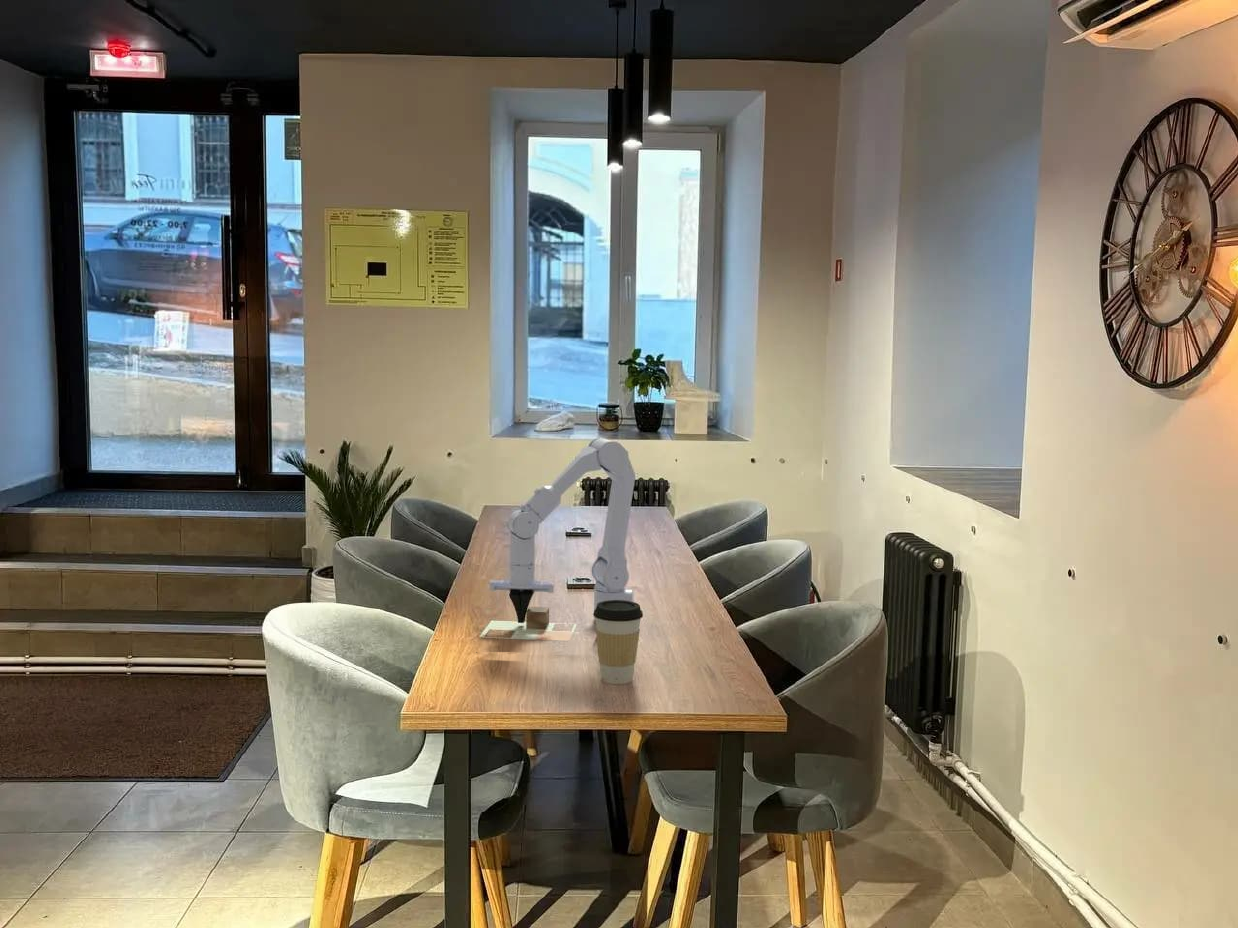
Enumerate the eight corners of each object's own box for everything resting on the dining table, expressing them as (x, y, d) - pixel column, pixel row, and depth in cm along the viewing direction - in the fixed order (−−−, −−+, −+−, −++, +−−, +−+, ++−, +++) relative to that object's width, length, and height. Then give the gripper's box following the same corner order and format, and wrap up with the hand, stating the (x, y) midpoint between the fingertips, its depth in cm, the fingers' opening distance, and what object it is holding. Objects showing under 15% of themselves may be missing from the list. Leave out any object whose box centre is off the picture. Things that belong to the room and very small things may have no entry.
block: (548, 624, 243) (549, 607, 243) (545, 629, 239) (546, 612, 239) (529, 623, 244) (529, 606, 243) (526, 628, 239) (526, 611, 239)
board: (576, 630, 244) (576, 623, 244) (569, 647, 231) (569, 640, 230) (491, 626, 246) (491, 620, 246) (478, 643, 232) (478, 637, 232)
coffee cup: (640, 671, 215) (641, 599, 213) (642, 687, 205) (644, 611, 203) (591, 671, 215) (593, 598, 213) (592, 686, 205) (593, 611, 203)
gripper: (556, 560, 243) (555, 618, 245) (494, 558, 245) (493, 615, 246) (551, 567, 236) (551, 626, 238) (487, 565, 238) (487, 623, 239)
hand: (521, 621), depth 242 cm, fingers closed
